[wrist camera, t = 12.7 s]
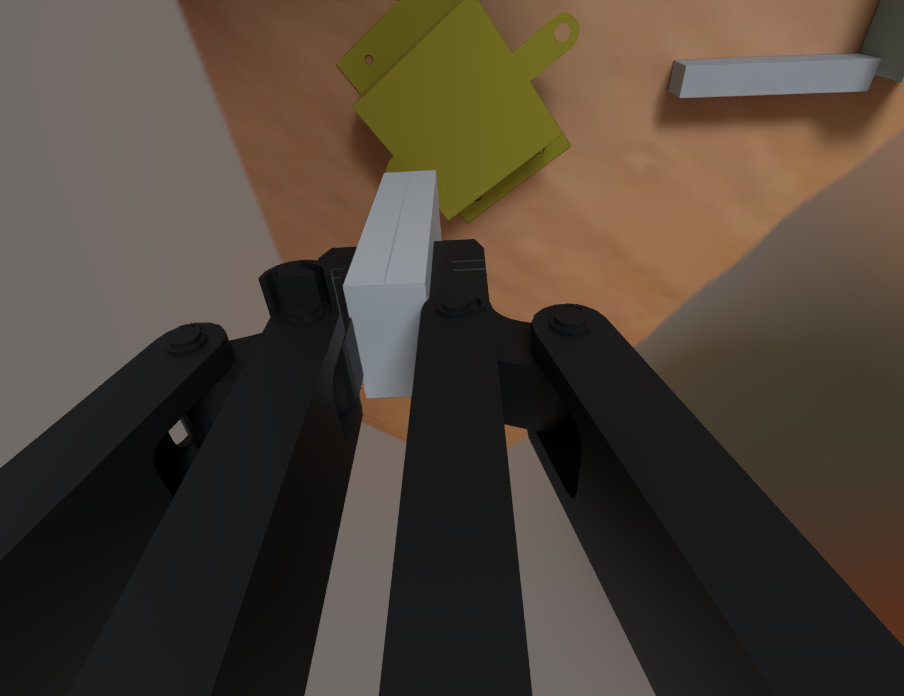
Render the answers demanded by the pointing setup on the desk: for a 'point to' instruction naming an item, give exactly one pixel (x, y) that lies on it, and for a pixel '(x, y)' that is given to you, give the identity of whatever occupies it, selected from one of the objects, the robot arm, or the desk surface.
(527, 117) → the bracket
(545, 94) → the desk surface
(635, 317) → the desk surface
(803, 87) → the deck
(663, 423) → the robot arm
